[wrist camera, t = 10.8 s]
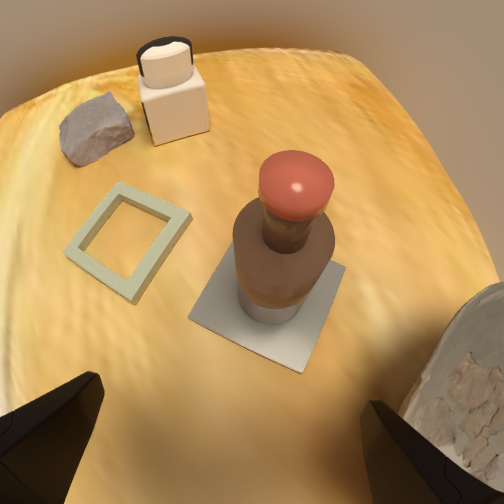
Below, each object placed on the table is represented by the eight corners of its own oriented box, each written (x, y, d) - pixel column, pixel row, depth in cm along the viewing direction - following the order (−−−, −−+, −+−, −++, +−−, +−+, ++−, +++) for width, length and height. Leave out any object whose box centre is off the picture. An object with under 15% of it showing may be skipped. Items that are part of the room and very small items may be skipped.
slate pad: (300, 373, 21) (301, 373, 21) (188, 318, 23) (187, 317, 23) (344, 269, 25) (346, 266, 25) (244, 224, 27) (244, 221, 27)
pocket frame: (135, 304, 23) (131, 300, 22) (68, 258, 25) (62, 252, 24) (192, 219, 27) (190, 212, 26) (121, 187, 29) (118, 180, 28)
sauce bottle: (267, 338, 22) (295, 265, 9) (224, 288, 24) (201, 168, 11) (316, 296, 23) (386, 189, 11) (274, 251, 25) (297, 119, 13)
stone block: (83, 183, 32) (143, 134, 33) (61, 162, 28) (126, 109, 29) (68, 143, 37) (117, 103, 38) (52, 125, 32) (104, 82, 33)
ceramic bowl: (288, 393, 20) (320, 394, 12) (472, 284, 25) (532, 240, 16) (370, 568, 11) (415, 613, 2) (524, 437, 16) (584, 429, 7)
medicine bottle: (147, 117, 35) (129, 42, 24) (197, 103, 36) (189, 27, 25) (154, 147, 32) (131, 62, 21) (210, 131, 33) (203, 44, 23)
